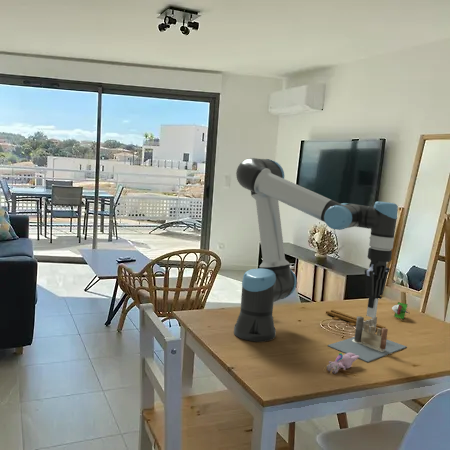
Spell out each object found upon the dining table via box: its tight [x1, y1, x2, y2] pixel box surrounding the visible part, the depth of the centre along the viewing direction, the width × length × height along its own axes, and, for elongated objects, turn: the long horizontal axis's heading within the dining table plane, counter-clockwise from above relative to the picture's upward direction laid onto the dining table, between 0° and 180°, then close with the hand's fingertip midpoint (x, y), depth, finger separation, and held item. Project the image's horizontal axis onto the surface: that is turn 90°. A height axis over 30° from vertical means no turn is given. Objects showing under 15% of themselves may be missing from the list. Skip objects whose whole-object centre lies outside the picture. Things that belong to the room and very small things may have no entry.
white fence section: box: [354, 316, 378, 342], centre depth 173 cm, size 12×2×9 cm, turn 130°
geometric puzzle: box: [391, 301, 409, 320], centre depth 205 cm, size 7×7×8 cm
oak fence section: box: [361, 324, 388, 349], centre depth 166 cm, size 9×2×7 cm, turn 45°
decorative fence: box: [325, 309, 387, 332], centre depth 194 cm, size 25×2×10 cm
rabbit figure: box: [323, 352, 360, 375], centre depth 147 cm, size 6×6×15 cm
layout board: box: [327, 336, 408, 363], centre depth 167 cm, size 25×16×1 cm, turn 130°
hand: (371, 316), depth 160 cm, fingers closed
